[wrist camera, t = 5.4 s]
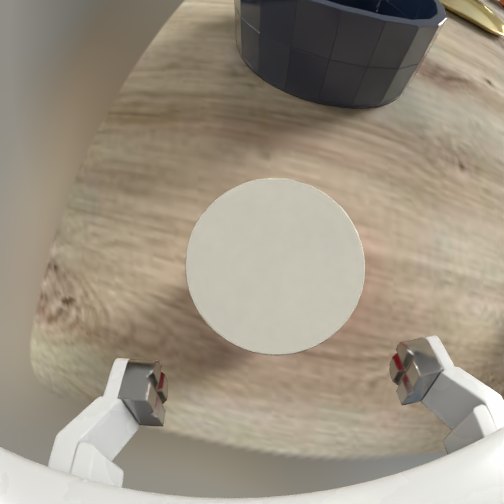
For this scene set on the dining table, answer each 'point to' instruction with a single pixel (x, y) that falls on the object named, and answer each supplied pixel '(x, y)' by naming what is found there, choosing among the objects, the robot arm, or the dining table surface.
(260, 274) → the disc
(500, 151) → the dining table surface
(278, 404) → the dining table surface
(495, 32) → the serving platter
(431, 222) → the dining table surface
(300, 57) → the pot
